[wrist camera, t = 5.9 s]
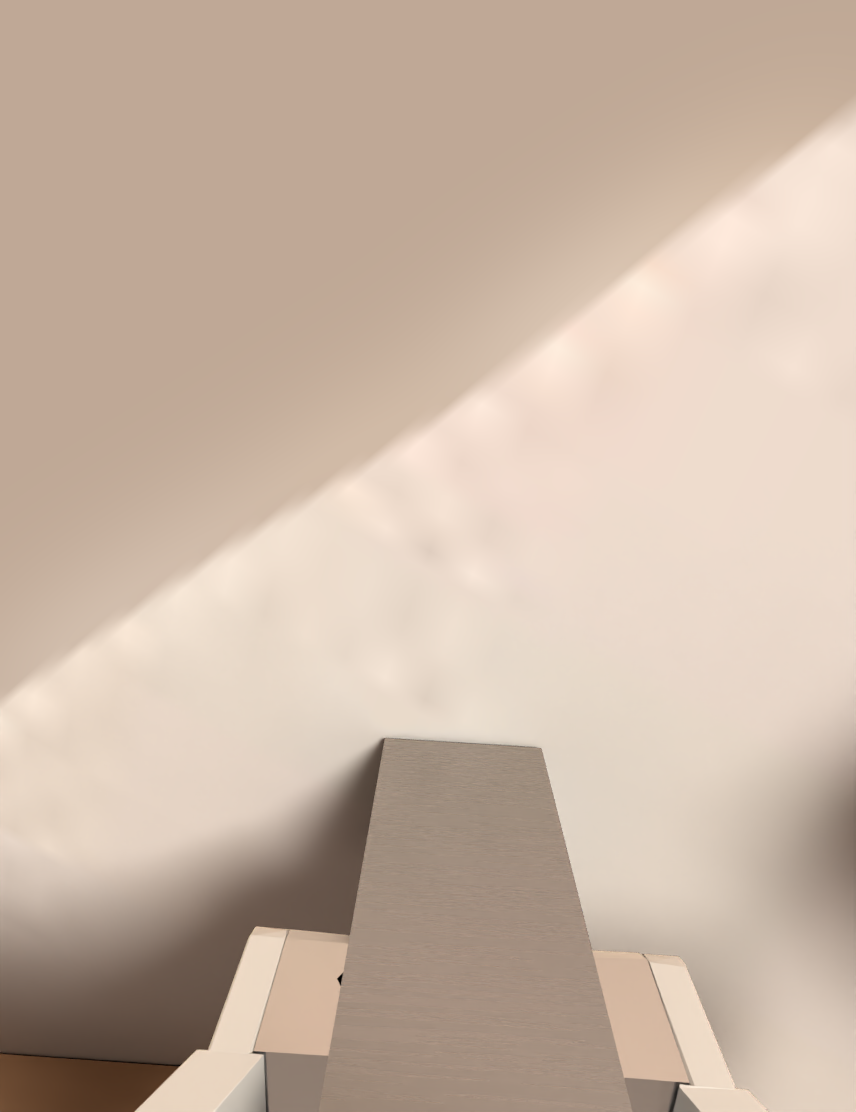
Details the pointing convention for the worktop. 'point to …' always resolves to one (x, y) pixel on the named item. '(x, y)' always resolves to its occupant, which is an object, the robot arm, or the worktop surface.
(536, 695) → the worktop surface
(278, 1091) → the robot arm
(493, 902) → the square bit
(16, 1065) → the socket block
